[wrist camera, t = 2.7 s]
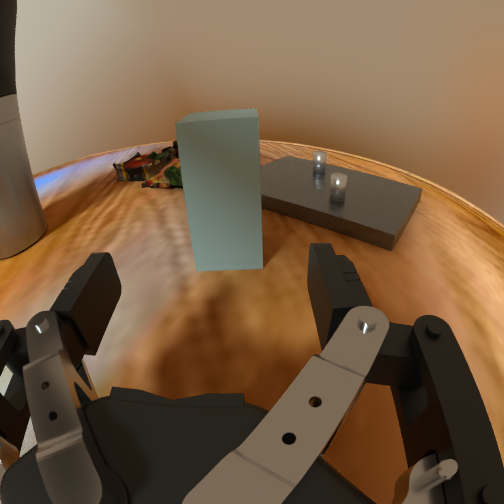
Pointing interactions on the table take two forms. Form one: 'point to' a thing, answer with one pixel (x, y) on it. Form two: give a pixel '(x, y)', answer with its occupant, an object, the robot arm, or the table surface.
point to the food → (153, 168)
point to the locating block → (222, 188)
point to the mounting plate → (348, 217)
